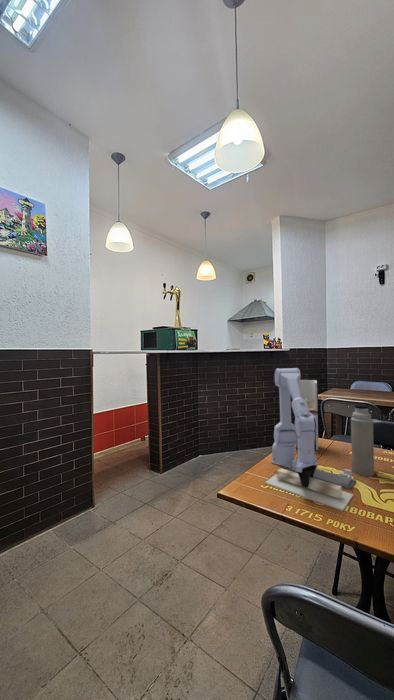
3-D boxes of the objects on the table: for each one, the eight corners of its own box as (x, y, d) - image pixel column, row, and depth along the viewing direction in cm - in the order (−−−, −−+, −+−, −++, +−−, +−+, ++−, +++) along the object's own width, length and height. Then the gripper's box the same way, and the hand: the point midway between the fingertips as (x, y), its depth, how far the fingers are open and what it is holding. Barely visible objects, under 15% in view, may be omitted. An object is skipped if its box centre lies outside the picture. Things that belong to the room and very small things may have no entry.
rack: (288, 471, 119) (287, 460, 119) (295, 465, 125) (295, 455, 125) (350, 489, 102) (349, 477, 102) (355, 481, 108) (355, 470, 108)
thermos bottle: (374, 470, 117) (372, 404, 117) (374, 478, 111) (372, 408, 111) (352, 466, 122) (351, 402, 122) (351, 473, 115) (350, 406, 115)
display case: (297, 443, 151) (295, 379, 151) (318, 446, 147) (316, 380, 147) (295, 451, 141) (294, 382, 141) (318, 454, 137) (316, 383, 137)
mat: (265, 483, 108) (264, 482, 108) (279, 473, 117) (279, 471, 117) (343, 511, 89) (343, 509, 89) (353, 496, 98) (353, 494, 98)
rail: (276, 478, 110) (276, 470, 110) (279, 475, 112) (279, 467, 112) (339, 498, 94) (338, 489, 94) (341, 494, 96) (341, 486, 96)
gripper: (309, 456, 95) (310, 496, 95) (324, 445, 106) (324, 480, 106) (289, 452, 100) (290, 489, 100) (305, 441, 111) (306, 475, 111)
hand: (306, 484), depth 103 cm, fingers closed on rail, 3 cm apart
